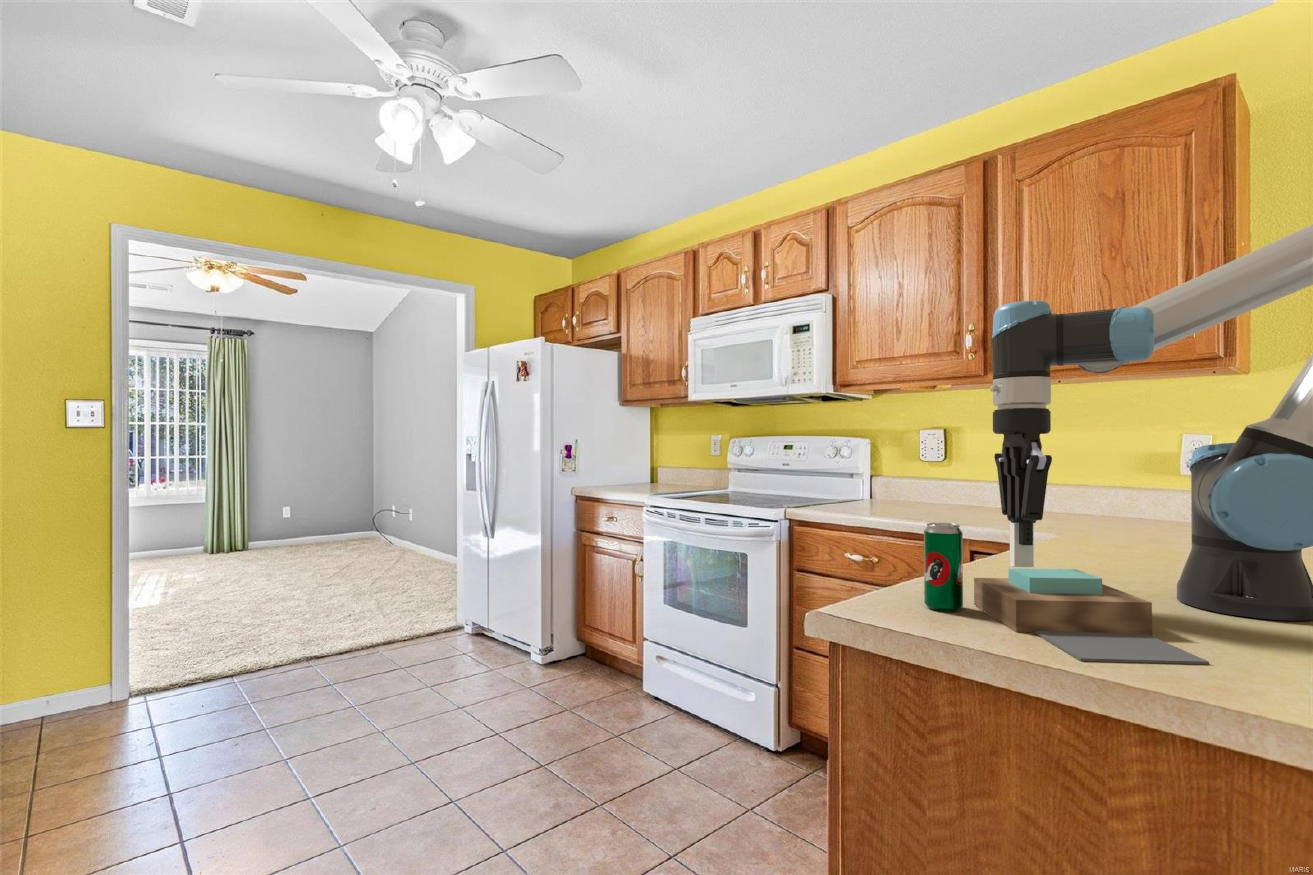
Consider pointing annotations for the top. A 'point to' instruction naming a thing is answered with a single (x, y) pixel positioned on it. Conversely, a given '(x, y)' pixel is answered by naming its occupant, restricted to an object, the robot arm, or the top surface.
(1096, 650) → the mat
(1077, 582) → the teal rectangular block
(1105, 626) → the brown wooden flat block
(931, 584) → the soda can
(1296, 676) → the top surface
